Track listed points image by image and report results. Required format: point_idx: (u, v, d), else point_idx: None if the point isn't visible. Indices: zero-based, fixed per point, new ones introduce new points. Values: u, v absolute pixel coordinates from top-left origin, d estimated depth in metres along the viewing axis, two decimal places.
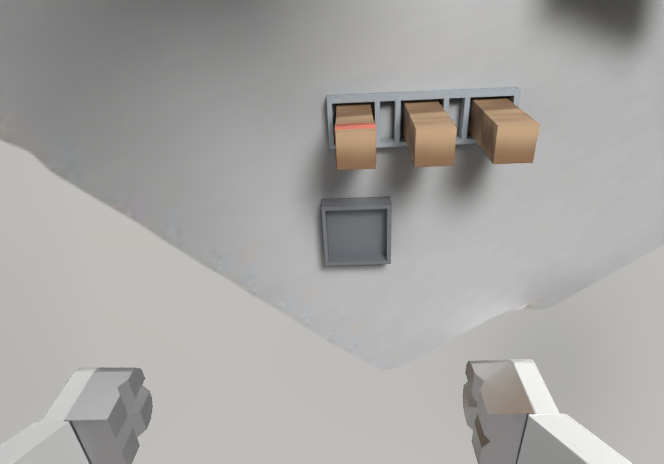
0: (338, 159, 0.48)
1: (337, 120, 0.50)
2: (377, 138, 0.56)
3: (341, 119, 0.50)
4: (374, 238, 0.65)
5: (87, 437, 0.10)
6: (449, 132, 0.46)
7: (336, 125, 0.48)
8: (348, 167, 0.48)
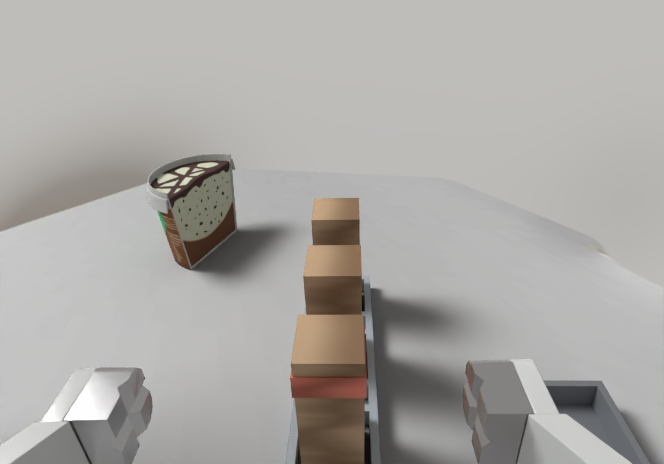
0: (343, 361, 0.25)
1: (296, 412, 0.28)
2: None
3: None
4: None
5: (87, 437, 0.10)
6: (313, 250, 0.35)
7: None
8: (359, 347, 0.26)
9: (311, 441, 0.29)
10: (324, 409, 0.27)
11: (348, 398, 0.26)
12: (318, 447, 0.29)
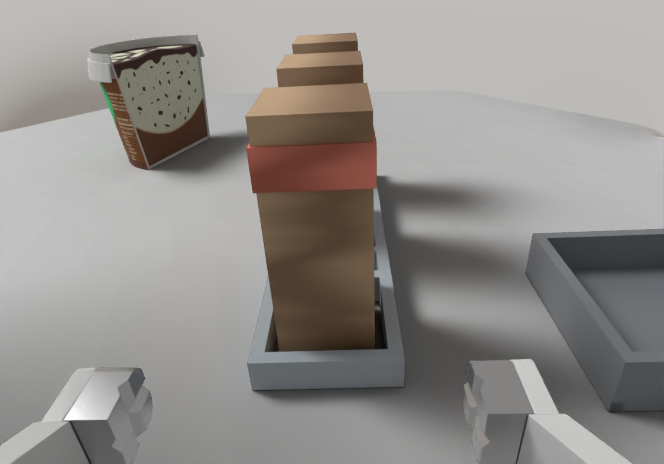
0: (335, 111, 0.15)
1: None
2: None
3: None
4: None
5: (87, 437, 0.10)
6: (293, 56, 0.25)
7: (251, 176, 0.16)
8: (363, 101, 0.16)
9: (290, 287, 0.18)
10: (308, 218, 0.16)
11: (347, 191, 0.16)
12: (301, 298, 0.18)
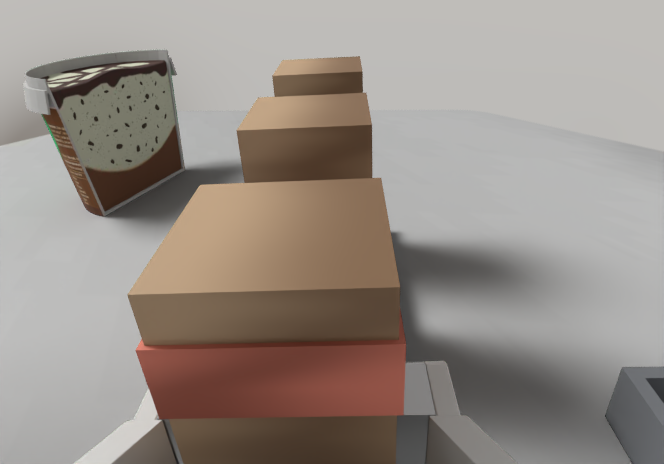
0: (320, 282, 0.07)
1: None
2: None
3: None
4: None
5: None
6: (268, 102, 0.17)
7: None
8: (377, 244, 0.08)
9: None
10: (270, 453, 0.09)
11: (345, 416, 0.08)
12: None
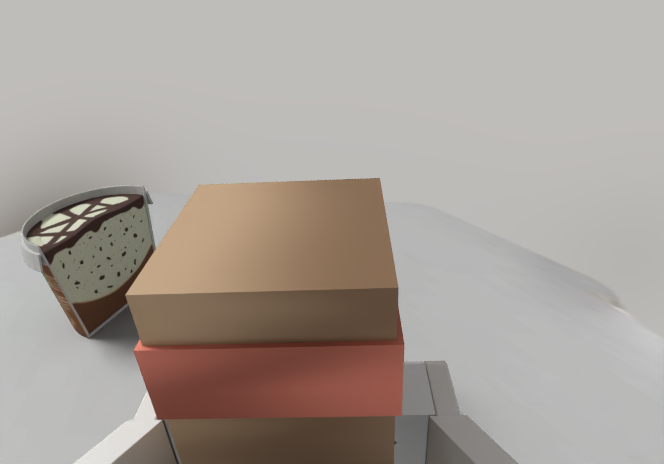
0: (318, 283, 0.07)
1: None
2: None
3: None
4: None
5: None
6: None
7: None
8: (376, 244, 0.08)
9: None
10: (269, 453, 0.09)
11: (342, 417, 0.08)
12: None
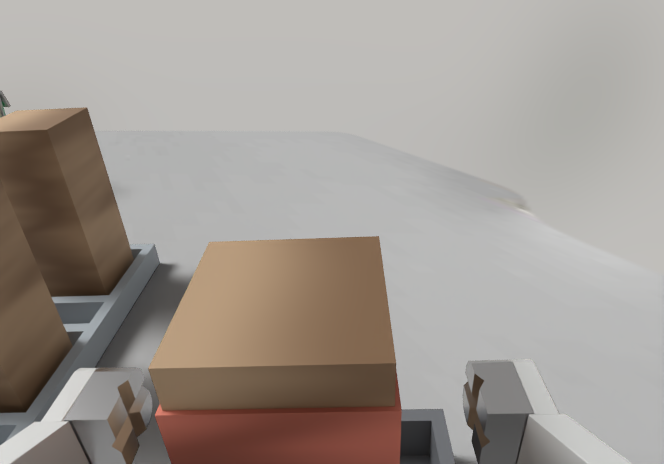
0: (323, 357, 0.08)
1: None
2: None
3: None
4: None
5: (87, 437, 0.10)
6: None
7: None
8: (375, 314, 0.08)
9: None
10: None
11: None
12: None
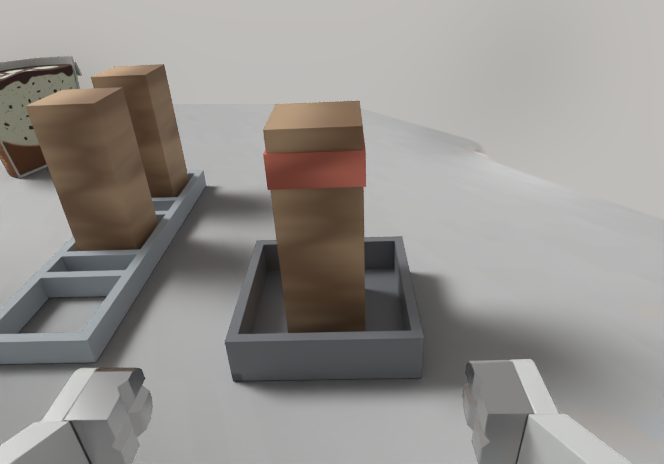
0: (333, 126, 0.19)
1: None
2: (114, 273, 0.28)
3: None
4: None
5: (87, 437, 0.10)
6: (63, 92, 0.30)
7: None
8: (355, 117, 0.20)
9: (296, 266, 0.22)
10: (311, 210, 0.21)
11: (342, 189, 0.20)
12: (305, 275, 0.22)
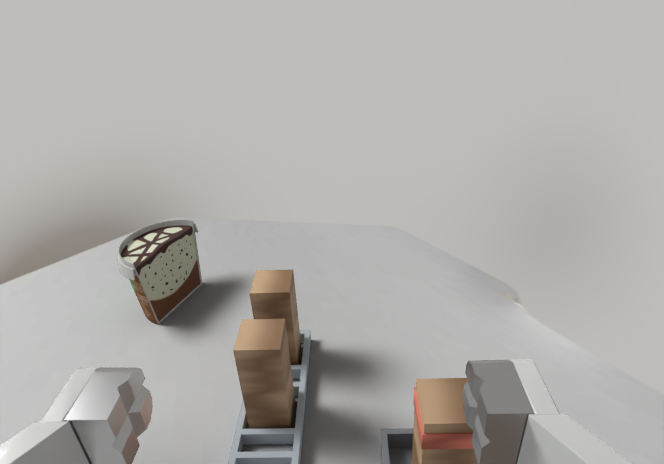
0: (465, 421, 0.32)
1: (421, 460, 0.34)
2: (285, 454, 0.42)
3: (420, 457, 0.35)
4: None
5: (87, 437, 0.10)
6: (246, 324, 0.43)
7: (421, 442, 0.33)
8: None
9: None
10: (445, 457, 0.34)
11: (466, 448, 0.33)
12: None
